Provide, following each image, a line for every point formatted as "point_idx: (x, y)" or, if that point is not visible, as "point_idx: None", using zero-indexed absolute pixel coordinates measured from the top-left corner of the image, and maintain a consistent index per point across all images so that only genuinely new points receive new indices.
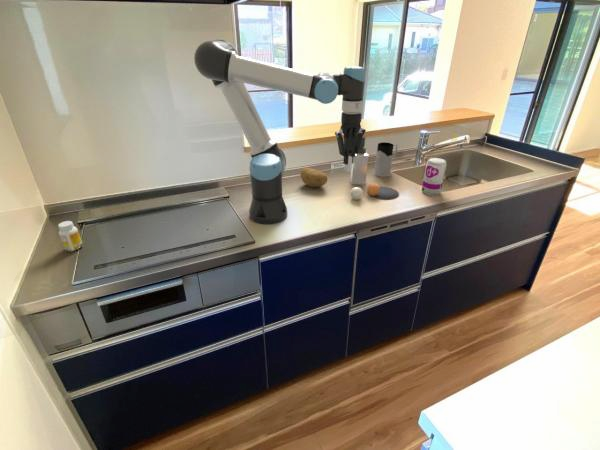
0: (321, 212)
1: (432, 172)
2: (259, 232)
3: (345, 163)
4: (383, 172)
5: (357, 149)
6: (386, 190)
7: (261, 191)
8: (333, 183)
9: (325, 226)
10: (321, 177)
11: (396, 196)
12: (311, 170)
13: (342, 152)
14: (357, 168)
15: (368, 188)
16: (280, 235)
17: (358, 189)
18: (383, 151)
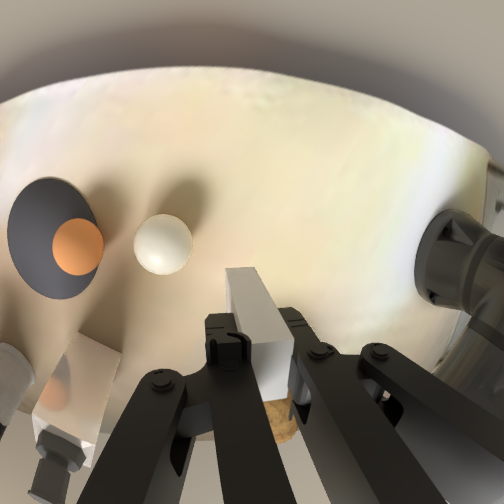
0: (347, 199)
1: None
2: (477, 192)
3: (298, 313)
4: (9, 357)
5: (155, 419)
6: (31, 252)
7: None
8: None
9: (379, 115)
10: None
11: (25, 191)
12: (277, 427)
13: (418, 366)
14: (89, 389)
15: (96, 252)
16: (461, 154)
17: (159, 236)
18: None
